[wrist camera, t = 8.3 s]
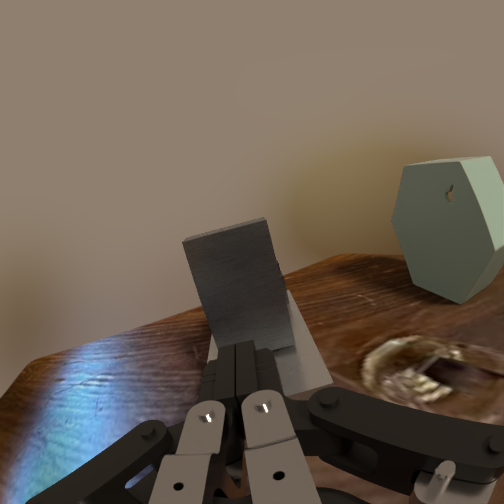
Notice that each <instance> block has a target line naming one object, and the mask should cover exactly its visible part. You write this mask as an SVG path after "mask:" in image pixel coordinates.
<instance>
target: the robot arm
mask: <svg viewBox="0 0 504 504" xmlns="http://www.w3.org/2000/svg"><path fill="white" fill-rule="evenodd" d="M202 376H203V377H202V381H201V383H202V384H201V388H200V394H199V400H198V404H197V405H195V406H193V407H192V408H191V409H190V410H189V412H188V414H187V416H186V420H185V421H184V422H182V423H179V424H176V425H174V426H171V427H168V428H167V427H166V426H165V424H164V423H163V422H161V421H159V420H148V421H145V422H142V423H141V424H139V425H137V426H136V427H135V428H134V429H132V430H131V431H130V432H128V433H127V434H126V435H124V436H123V437H121V438H120V439H119V440H117V441H116V442H115V443H113V444H112V445H111V446H109V447H108V448H106V449H105V450H104V451H102V452H101V453H99V454H98V455H97V456H95V457H94V458H92V459H91V460H89V461H88V462H87V463H85V464H84V465H82V466H81V467H79V468H78V469H76V470H75V471H73V472H72V473H70V474H69V475H67V476H66V477H64V478H63V479H61V480H60V481H58V482H57V483H55V484H54V485H52V486H50V487H49V488H47V489H46V490H44V491H42V492H41V493H39V494H37V495H36V496H34V497H33V498H31V499H29V500H28V501H27V502H26V503H25V504H370V503H368V502H366V501H364V500H361V499H359V498H357V497H355V496H353V495H351V494H349V493H346V492H343V491H340V490H336V489H332V488H323V487H315V484H314V481H313V479H312V476H311V473H310V471H309V468H308V465H307V462H306V460H305V457H304V456H319V458H320V459H321V460H322V461H324V462H326V463H328V464H330V465H332V466H335V467H337V468H339V469H341V470H343V471H346V472H348V473H350V474H352V475H355V476H357V477H359V478H362V479H364V480H367V481H369V482H372V483H374V484H377V485H379V486H382V487H385V488H387V489H390V490H393V491H396V492H399V493H402V494H405V495H408V496H410V497H409V504H487V503H488V501H489V498H490V496H491V494H492V491H493V489H494V486H495V484H496V482H497V481H498V480H499V478H500V477H501V476H502V474H503V473H504V426H500V425H493V424H486V423H480V422H474V421H468V420H463V419H458V418H452V417H448V416H443V415H438V414H434V413H429V412H425V411H421V410H417V409H413V408H409V407H405V406H401V405H397V404H394V403H390V402H386V401H383V400H379V399H376V398H373V397H369V396H366V395H363V394H359V393H356V392H353V391H350V390H347V389H344V388H340V387H327V388H323V389H321V390H318V391H317V392H315V393H314V394H313V395H312V396H311V397H310V398H309V400H293V399H290V398H288V397H286V396H285V395H284V392H283V387H282V383H281V379H280V375H279V371H278V368H277V364H276V360H275V357H274V353H273V352H272V351H271V350H269V349H268V348H263V349H259V350H256V347H255V344H254V341H253V340H249V341H244V342H240V343H236V344H232V345H227V346H223V347H219V348H218V356H217V359H215V360H210V361H209V362H208V363H207V364H206V366H205V367H204V369H203V375H202ZM244 440H247V446H248V448H246V449H245V443H244ZM149 464H150V465H151V466H152V467H153V468H154V470H152V471H151V472H150V473H149V474H148V475H146V476H145V477H144V478H143V479H141V480H140V481H139V482H138V483H136V484H135V485H134V486H132V487H131V488H125V485H126V483H127V482H128V481H129V480H130V479H132V478H133V477H134V476H136V475H137V474H138V473H139V472H141V471H142V470H143V469H144V468H146V467H147V466H148V465H149ZM246 464H247V471H248V477H249V483H250V489H251V495H248V496H246V495H245V484H246Z"/></svg>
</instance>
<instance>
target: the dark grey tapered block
mask: <svg viewBox="0 0 504 504" xmlns="http://www.w3.org/2000/svg"><path fill="white" fill-rule="evenodd" d="M182 244H183V247H184V250H185V254H186V257H187V260H188V263H189V267H190V270H191V273H192V276H193V279H194V282H195V285H196V288H197V292H198V295H199V298H200V301H201V303H202V306H203V309H204V312H205V315H206V318H207V321H208V324H209V327H210V329H211V332H212V335H213V338H214V341H215V343H216V346H217V349H218V348H219V347H223V346H227V345H232V344H236V343H240V342H244V341H249V340H253V341H254V344H255V347H256V350H259V349H263V348H268V349H269V350H271V351H272V350H276V349H280V348H284V347H287V346H291V345H295V344H296V343H295V338H294V334H293V330H292V325H291V321H290V316H289V312H288V308H287V303H286V299H285V295H284V291H283V286H282V282H281V278H280V274H279V270H278V265H277V261H276V257H275V254H274V249H273V245H272V241H271V237H270V233H269V229H268V225H267V221H266V219H265V218H264V217H263V218H259V219H255V220H251V221H247V222H243V223H240V224H236V225H232V226H228V227H224V228H221V229H217V230H213V231H209V232H206V233H202V234H199V235H195V236H191V237H188V238H186V239H185V240H184V241H183V242H182Z"/></svg>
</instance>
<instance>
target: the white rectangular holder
mask: <svg viewBox="0 0 504 504" xmlns="http://www.w3.org/2000/svg"><path fill="white" fill-rule="evenodd" d="M276 261H277V260H276ZM277 265H278V270H279V274H280V278H281V282H282V286H283V291H284V295H285V299H286V303H287V308H288V312H289V316H290V321H291V325H292V330H293V334H294V338H295V343H296V344H295V345H291V346H287V347H284V348H280V349H276V350H272V352H273V353H274V357H275V360H276V364H277V368H278V371H279V375H280V379H281V383H282V387H283V392H284V395H285V396H286V397H288V398H290V399H293V400H309V398H310V397H311V396H312V395H313V394H314V393H315V392H317V391H318V390H321V389H323V388H327V387H334V383H333V381H332V378H331V376H330V374H329V372H328V370H327V368H326V366H325V364H324V361H323V359H322V357H321V355H320V353H319V351H318V349H317V347H316V345H315V343H314V340H313V338H312V336H311V334H310V332H309V330H308V328H307V326H306V324H305V322H304V320H303V318H302V316H301V313H300V311H299V309H298V307H297V305H296V303H295V301H294V299H293V297H292V295H291V293H290V291H289V290H286V286H285V281H284V277H283V275H282V273H281V271H280V267H279V263H278V261H277ZM217 356H218V349H217V346H216V343H215V341H214V338H213V335H212V336H211V342H210V348H209V355H208V361H207V363H208V362H209V361H210V360H215V359H217ZM244 443H245V449H246V448H248V446H247V440H244Z"/></svg>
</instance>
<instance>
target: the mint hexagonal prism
mask: <svg viewBox="0 0 504 504" xmlns="http://www.w3.org/2000/svg"><path fill="white" fill-rule="evenodd" d="M453 186H454V190H453V193H452V196H453V199H454V201H453V202H451V201H450V200H449V198H448V192H451V191H452V189H453ZM391 222H392V225H393V227H394V230H395V233H396V235H397V238H398V241H399V243H400V246H401V249H402V252H403V255H404V258H405V260H406V263H407V266H408V269H409V273H410V276H411V279H412V282H413V284H414V285H416V286H419V287H421V288H423V289H426V290H428V291H430V292H433V293H435V294H437V295H439V296H442V297H444V298H446V299H449V300H451V301H453V302H456V303H458V304H460V305H461V304H463V303H464V302H466V301H467V300H469V299H470V298H471V297H473V296H474V295H476V294H477V293H479V292H480V291H481V290H483V289H484V288H485V287H487V286H488V285H490V284H491V282H492V281H493V279H494V278H495V276H496V275H497V273H498V272H499V270H500V269H501V267H502V266H503V264H504V185H503V182H502V180H501V177H500V175H499V173H498V171H497V169H496V166H495V164H494V162H493V160H492V158H491V157H490V156H481V157H480V156H479V157H464V158H451V159H440V160H433V161H427V162H421V163H416V164H410V165H405V166H404V168H403V173H402V177H401V182H400V187H399V191H398V195H397V200H396V204H395V208H394V212H393V216H392V220H391Z"/></svg>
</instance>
